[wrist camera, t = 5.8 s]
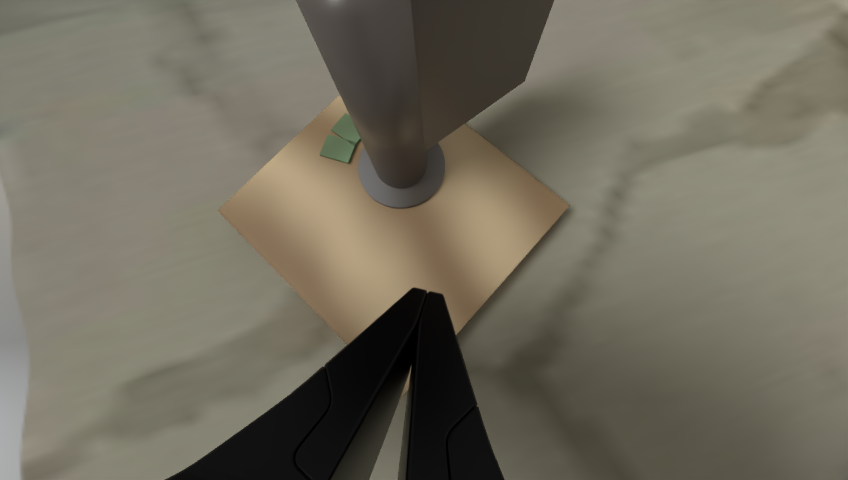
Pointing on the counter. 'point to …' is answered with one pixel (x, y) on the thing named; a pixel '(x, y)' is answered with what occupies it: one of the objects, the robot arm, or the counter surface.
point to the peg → (421, 68)
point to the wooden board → (390, 223)
